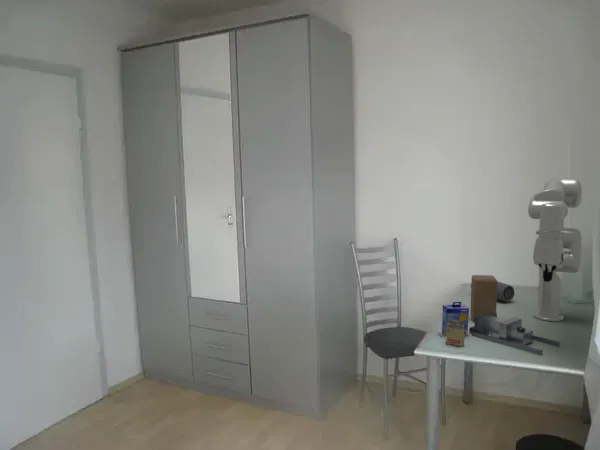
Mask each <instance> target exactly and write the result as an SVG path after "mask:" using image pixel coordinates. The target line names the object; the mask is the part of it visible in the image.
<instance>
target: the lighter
mask: <svg viewBox="0 0 600 450" xmlns="http://www.w3.org/2000/svg"><path fill="white" fill-rule="evenodd" d="M452 322H453V323H452ZM457 323H460V324H457ZM462 323H463V321H462V320H461V321H459V320H454V319H450V323H447V330H446V336H445V343H446V344H447V345H450V346H456V347H457V346H458V347H464V346H465V336H464V331H465V328H464V325H462Z"/></svg>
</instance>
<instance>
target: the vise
mask: <svg viewBox="0 0 600 450" xmlns="http://www.w3.org/2000/svg"><path fill="white" fill-rule="evenodd" d="M492 316H493V317H497V316H498V313H497V312H496V313H495V312H491V311H490V312H487V313H484V314H481V315H478V316H475V321H474V325H473V326H470V327H468V334H471V336H473V337H475V336H476V338H479V339H482V340H487V341H490V342H494V343H497V344H500V345H504V346H507V347H511V348H514V349H517V350H521V351H525V352H527V353H528V352H529V353H531V354H535V355H539V356H542V355H543V354H544V353H543V352H544V351H543V349H540V348H535V347H532V346H528V345H526V344H525V345H522V344H518V343H515V342H511V341H507V340H504V339H500V338H496V337H493V336H489V335H486V319H487V318H490V317H492ZM497 318H498V317H497ZM533 341H537V342H541V343H544V344H548V345H552V346H556V347H560V346H561V342H560V341H558V340H555V339H550V338H546V337H542V336H538V335H535V334H533Z"/></svg>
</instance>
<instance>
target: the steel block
mask: <svg viewBox="0 0 600 450" xmlns="http://www.w3.org/2000/svg"><path fill="white" fill-rule="evenodd" d="M506 320H507V319H505V318H501V317H493V316H492V317H490V318H487V319H486V335H490V336H493V337H496V338H499V323H500V322H503V321H506Z"/></svg>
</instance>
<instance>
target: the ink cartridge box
mask: <svg viewBox="0 0 600 450" xmlns="http://www.w3.org/2000/svg"><path fill="white" fill-rule="evenodd" d="M469 314H470V308H469V307H468V306H466V305H465V304H462V301H453V302H452V304H442V314H441V315H442V316H441V317H442V320H441V321H442V322H441V333H442V334H443V335H444V336H445V337H446V330H447V323H450V319H454V320H459V321H461V320H462V321H463V323H462V325H464V328H465V331H464V337H467V335H468V334H469V316H470V315H469ZM452 323H453V322H452ZM457 324H460V323H457Z"/></svg>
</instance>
